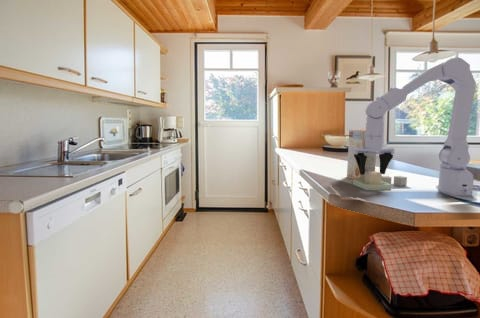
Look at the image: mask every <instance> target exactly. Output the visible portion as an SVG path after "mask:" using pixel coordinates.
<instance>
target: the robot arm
mask: <svg viewBox="0 0 480 318" xmlns="http://www.w3.org/2000/svg"><path fill="white" fill-rule="evenodd" d="M436 81H441V82H443V83H445V84H448V86H450V87H451V88H452V89H453V90H454V91H455V92H454V98H453V104H452V109H451V116H450V120H449V126H448V133H447V138H446V139H445V141H444V142H443V146H442V149H440V151H439V153H438V158H439V161H440V162H441V163H440V165H439V173H438V174H439V175H438V187H437V191H439V192H440V193H444V194H450V195H452V196H473V189H474V175H473V173H472V172H471V171H469V170H468V169H467V165H468V164H469V163H470V162H471V156H470V153H469V148H470V147H469V146H470V145H469V143H468V141H467V139H468V138H467V136H468V131H469V125H470V120H471V114H472V110H473V105H474V100H475V99H474V98H475V93H476V87H477V83H476V80H475V77H474V76H473V73H472V72H471V65H470V64H469V63H468V62H467V61H465V59H463V58H461V57H451V58H449V59H447V60H446V61H444V62H442V63H439V64H437V65H434V66H433V67H430V68H428V69H427V70H425V71H423V72H422V73H421V74H419V75H418V76H417V77H415V78H413V79H412V80H411V81H408V83H406V84H404V85H403V86H402V87H401V86H400V87H399V86H394V87H390V88H389V89H387V92H385V93H384V94H382V95H381V96H377V97H375V100H374V101H371V102H370V103H369V104H368V105H367V106H366V109H365V114H366V123H365V130H366V135H365V148H353V154H354V157H355V159H356V161H357V164H358V167H359V172H360V174H362V175H364V174H365V163H366V159H367V156H365V155H364V154H376V155H378V158H379V173H382V175H386V171H387V168H388V166H389V164H390V163H391V161H392V159H393V158H394V154H395V148H393V147H384V146H383V144H384V143H383V142H384V124H385V123H384V117H385V115H386V114H387V113H386V112H390V111H391V110H393V109H395V108H396V107H397V106H400V105H401V104H402V103H404V102H406V100H407V97H408V96H409V94H411V93H413V92H415V91H416V90H417V89H419V88H421V87H423V86H424V85H425V84H428V83H429V82H436ZM370 151H374V152H370Z"/></svg>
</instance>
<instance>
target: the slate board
mask: <svg viewBox="0 0 480 318" xmlns="http://www.w3.org/2000/svg"><path fill="white" fill-rule="evenodd" d="M395 189H396V190H398V189H399V190H403V189H404V190H406V189H407V190H409V189H410V190H411V187H410V186H407V185H404V186H399V185H394V183H391V190H395Z"/></svg>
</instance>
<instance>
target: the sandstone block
mask: <svg viewBox="0 0 480 318" xmlns="http://www.w3.org/2000/svg"><path fill="white" fill-rule="evenodd" d="M381 176H383V174H382V173H380V171H376V170H375V171H366V172H365V182H364V184H367V185H380V184H381Z"/></svg>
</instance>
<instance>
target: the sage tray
mask: <svg viewBox="0 0 480 318" xmlns="http://www.w3.org/2000/svg"><path fill="white" fill-rule="evenodd" d="M364 182H365V179H353V180H352V185H354V186H356V187H357V188H358V187H359V188H361V189H363V190H365V191H377V190H378V191H385V190H387V191H389V190H390V191H391V190H392V189H391V184H392V183H391V184H388V183H386V182H383V181H381V184H380V185H367V184H364Z"/></svg>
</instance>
